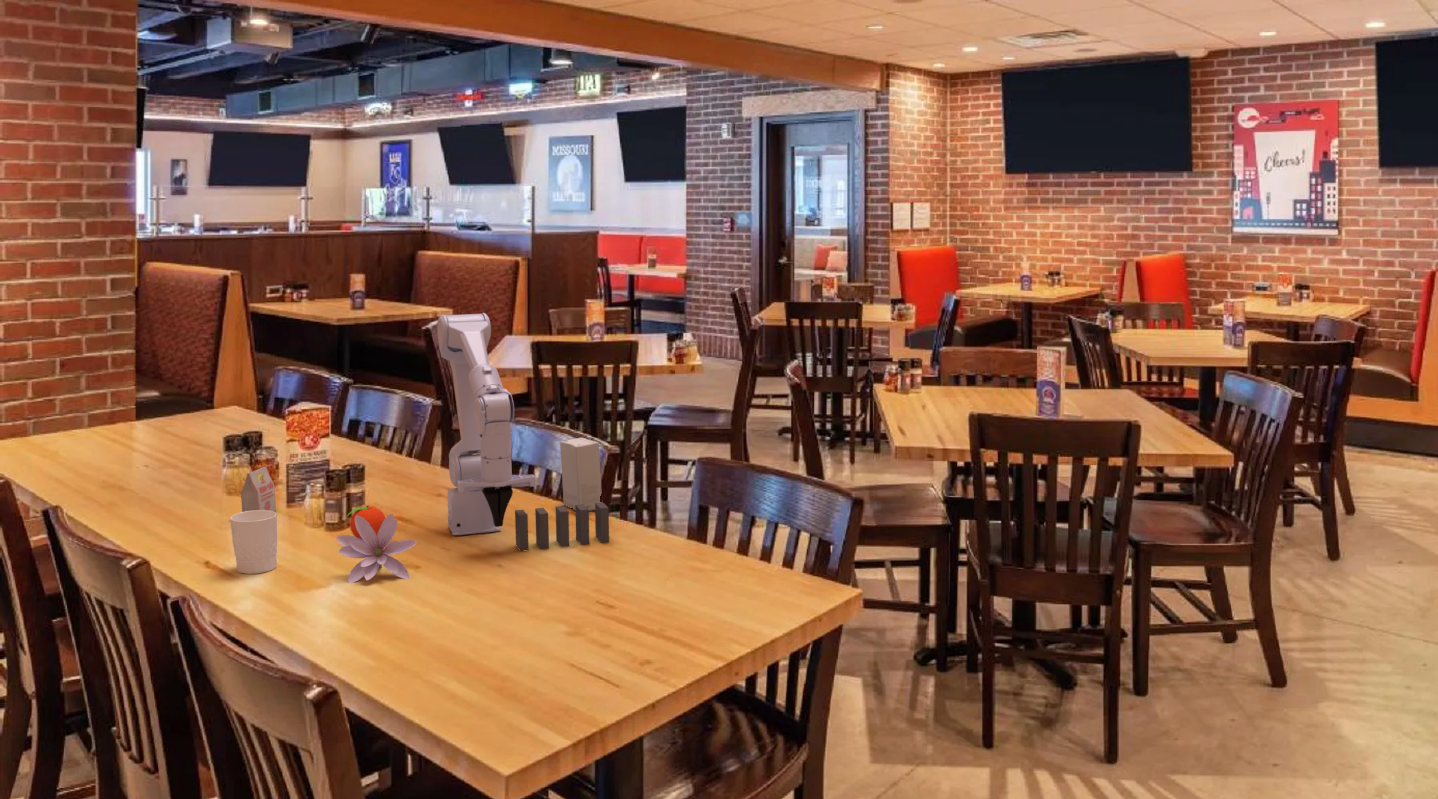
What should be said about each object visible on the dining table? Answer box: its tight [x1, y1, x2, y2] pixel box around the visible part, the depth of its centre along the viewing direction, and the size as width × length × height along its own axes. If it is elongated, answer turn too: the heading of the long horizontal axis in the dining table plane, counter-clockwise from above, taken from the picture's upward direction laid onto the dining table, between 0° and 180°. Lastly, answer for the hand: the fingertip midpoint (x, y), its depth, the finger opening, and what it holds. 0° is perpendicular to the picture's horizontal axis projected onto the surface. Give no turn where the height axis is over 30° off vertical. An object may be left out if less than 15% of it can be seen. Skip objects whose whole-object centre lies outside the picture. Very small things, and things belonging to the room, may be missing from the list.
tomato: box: [344, 505, 386, 540], centre depth 231 cm, size 8×7×7 cm
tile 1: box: [514, 509, 530, 552], centre depth 227 cm, size 2×4×7 cm, turn 20°
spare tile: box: [555, 505, 570, 548], centre depth 230 cm, size 2×4×7 cm, turn 20°
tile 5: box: [594, 501, 610, 544], centre depth 232 cm, size 2×4×7 cm, turn 20°
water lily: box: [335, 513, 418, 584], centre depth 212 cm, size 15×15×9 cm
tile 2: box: [534, 507, 550, 550], centre depth 228 cm, size 2×4×7 cm, turn 20°
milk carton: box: [240, 466, 277, 513], centre depth 249 cm, size 4×7×10 cm, turn 170°
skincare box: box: [559, 437, 603, 512], centre depth 256 cm, size 8×6×15 cm
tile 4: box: [574, 504, 590, 546], centre depth 231 cm, size 2×4×7 cm, turn 20°
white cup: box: [229, 510, 278, 575], centre depth 214 cm, size 8×8×10 cm
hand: (498, 525), depth 225 cm, fingers closed
